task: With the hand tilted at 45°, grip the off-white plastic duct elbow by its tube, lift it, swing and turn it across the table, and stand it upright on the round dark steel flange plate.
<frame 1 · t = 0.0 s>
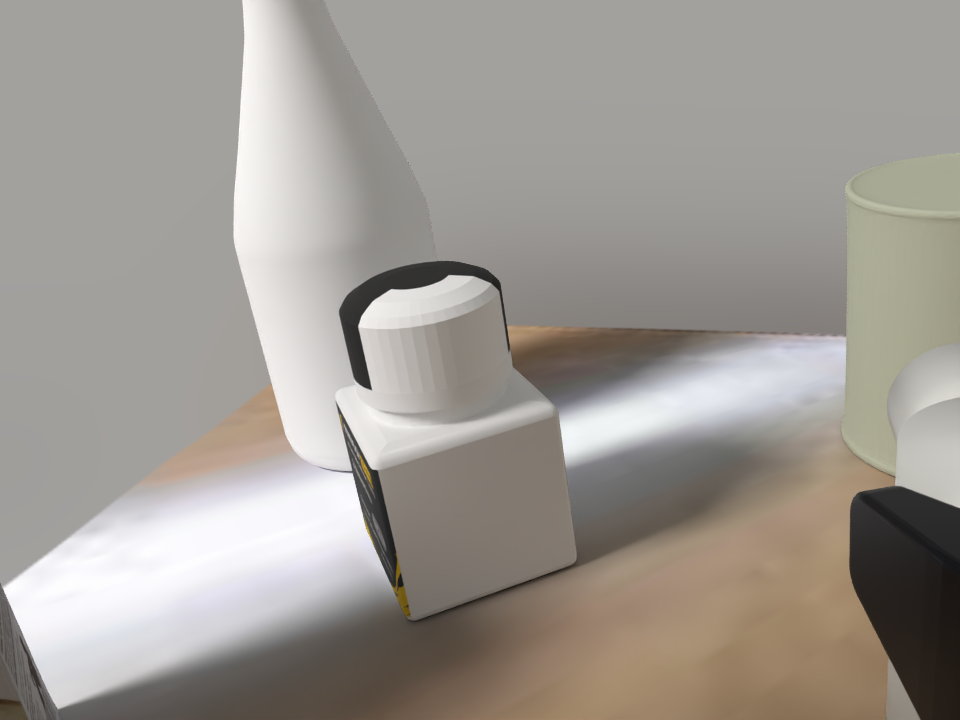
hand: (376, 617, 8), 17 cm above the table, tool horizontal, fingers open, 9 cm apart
wine bottle: (379, 434, 48), on the table
can: (952, 439, 40), on the table
medicine bottle: (467, 551, 37), on the table
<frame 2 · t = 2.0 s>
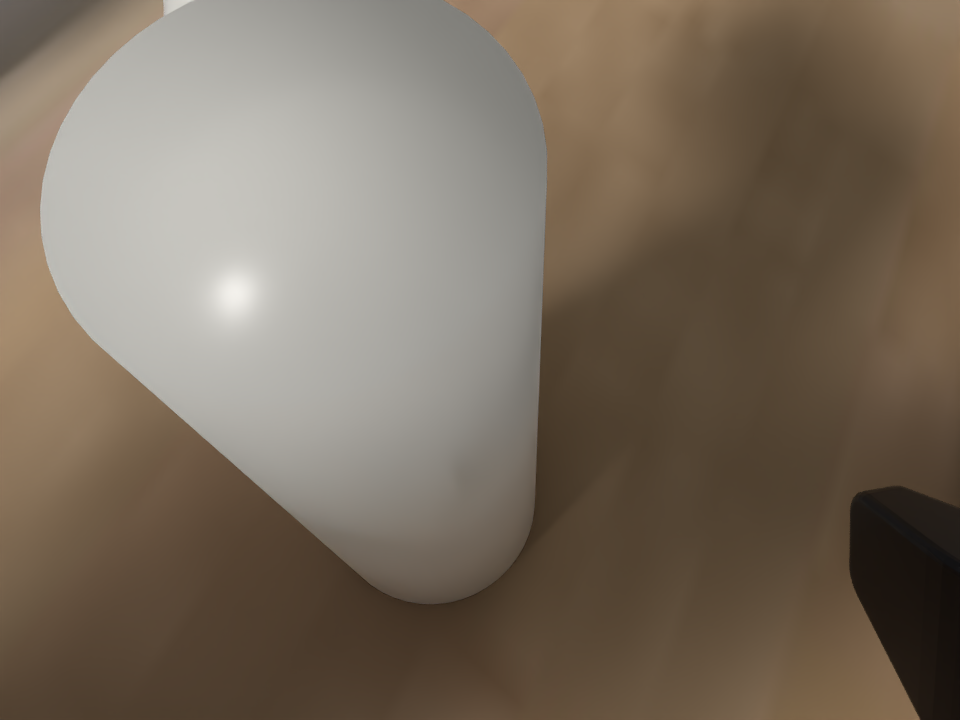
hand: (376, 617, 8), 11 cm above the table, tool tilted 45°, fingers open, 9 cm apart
duct elbow: (432, 499, 19), on the table
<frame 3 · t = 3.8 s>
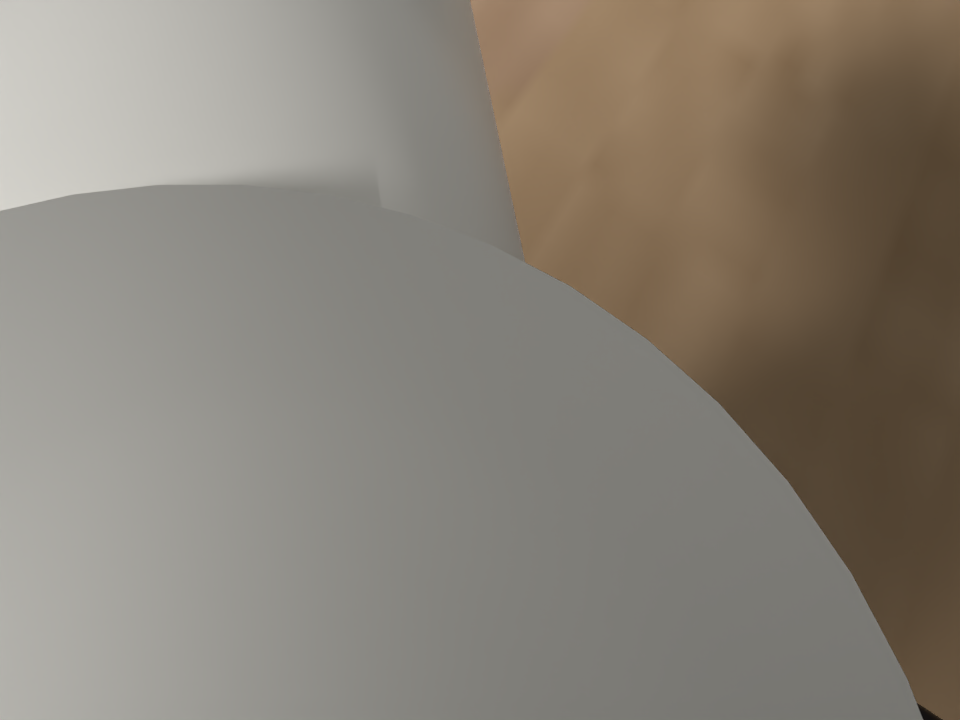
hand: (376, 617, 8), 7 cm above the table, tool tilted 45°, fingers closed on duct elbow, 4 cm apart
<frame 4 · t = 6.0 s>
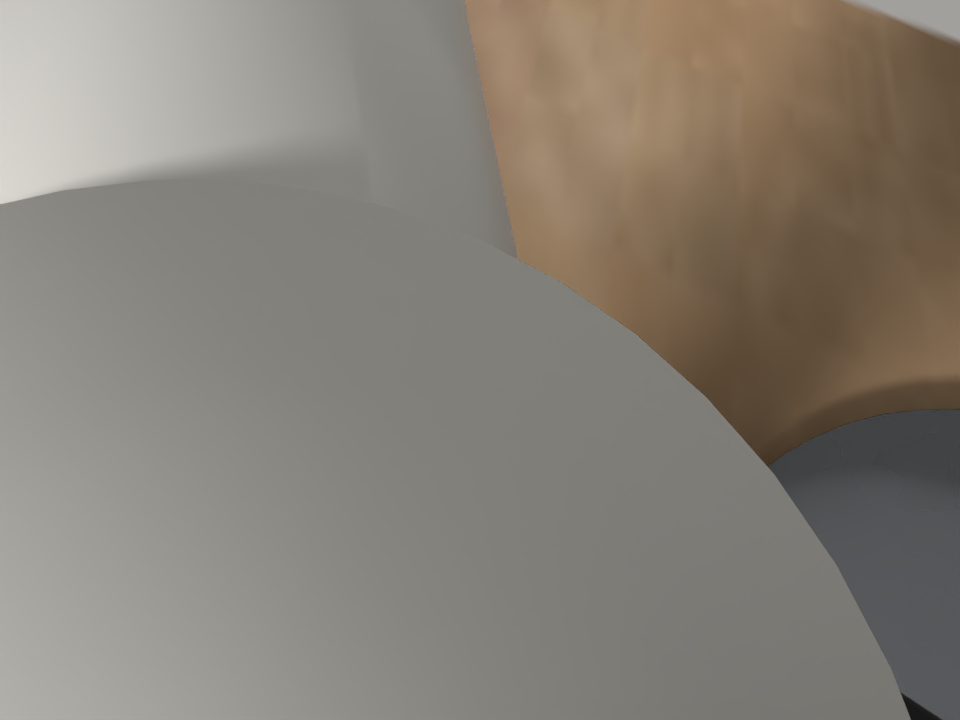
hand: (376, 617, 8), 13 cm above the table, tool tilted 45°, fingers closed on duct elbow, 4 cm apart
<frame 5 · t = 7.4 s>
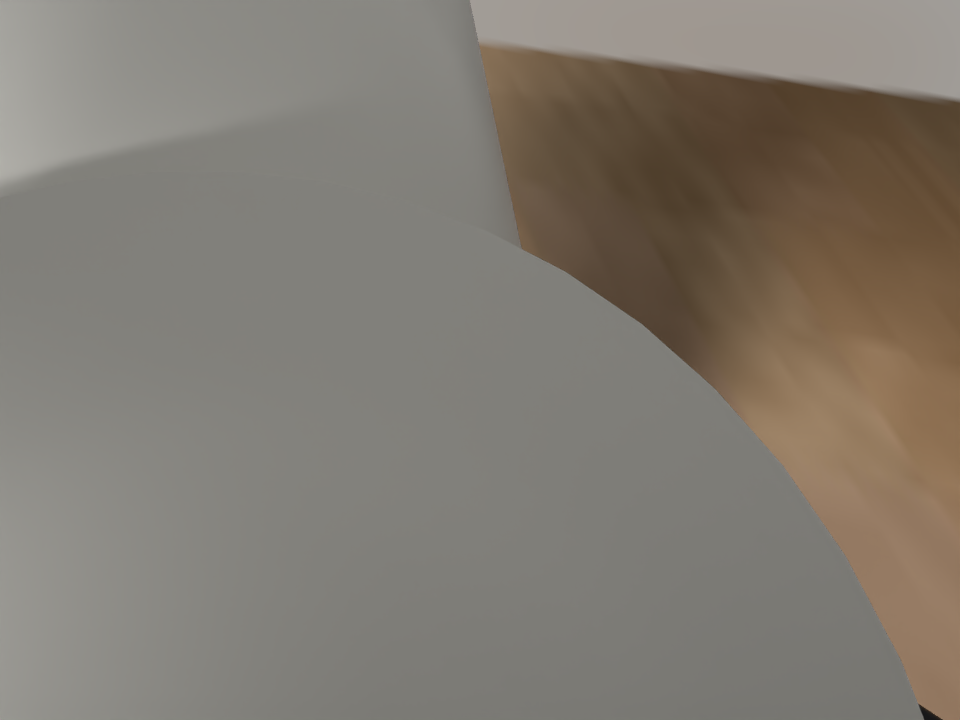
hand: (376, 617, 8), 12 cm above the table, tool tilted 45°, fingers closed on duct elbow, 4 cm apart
when the fingers open (9 cm above the table, at t = 8.3 s): duct elbow drops 1 cm, resting on flange plate.
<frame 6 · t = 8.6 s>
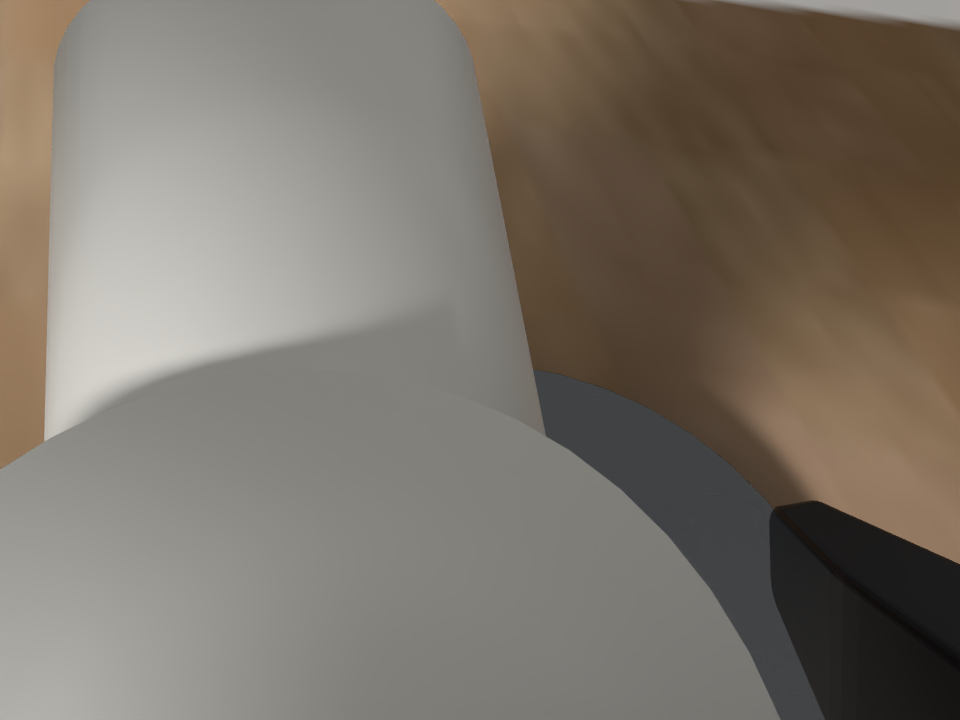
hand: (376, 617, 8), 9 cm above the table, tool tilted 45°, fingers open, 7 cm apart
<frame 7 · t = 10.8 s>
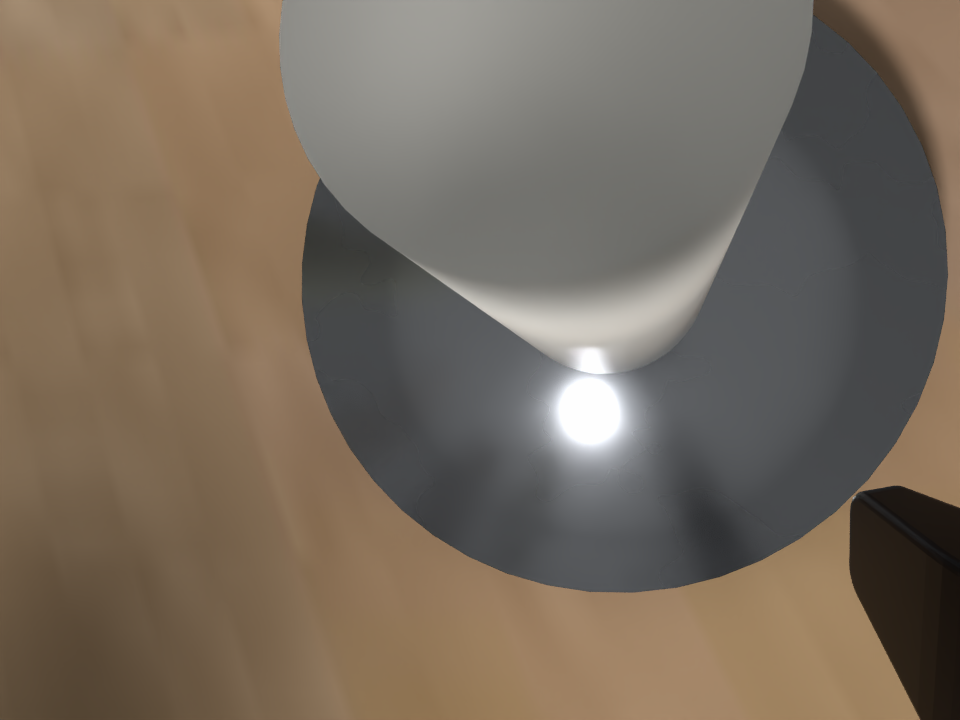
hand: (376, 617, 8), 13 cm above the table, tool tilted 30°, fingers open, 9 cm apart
duct elbow: (604, 273, 20), point 1 cm above the table, touching flange plate
flange plate: (605, 277, 21), on the table
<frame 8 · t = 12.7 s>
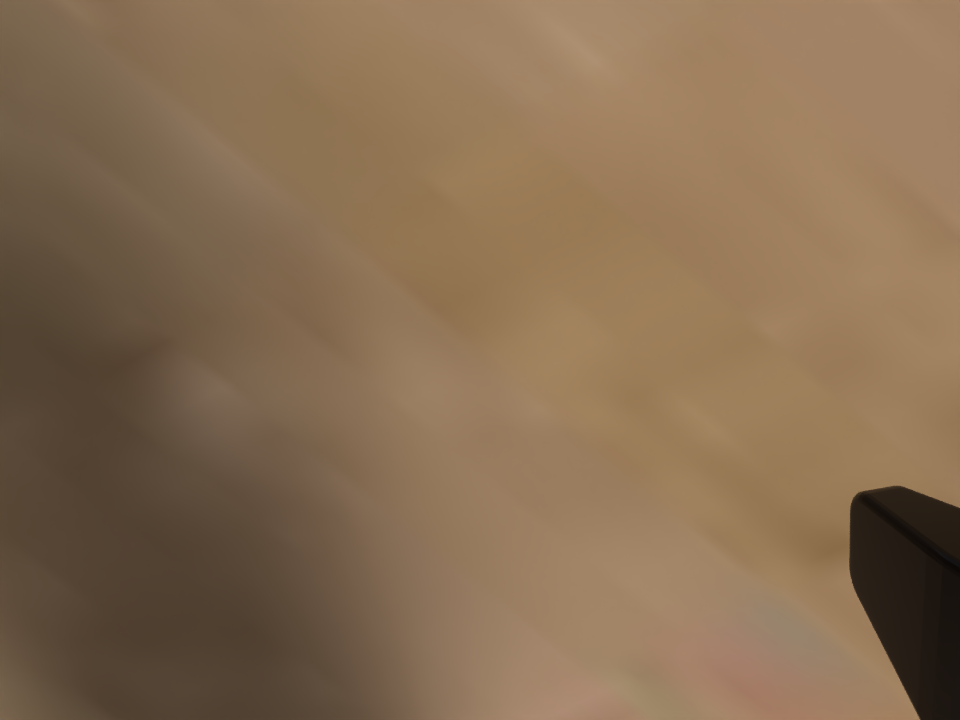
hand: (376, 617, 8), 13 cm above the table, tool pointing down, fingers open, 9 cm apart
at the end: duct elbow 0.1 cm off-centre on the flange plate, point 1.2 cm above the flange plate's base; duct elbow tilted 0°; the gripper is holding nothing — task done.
